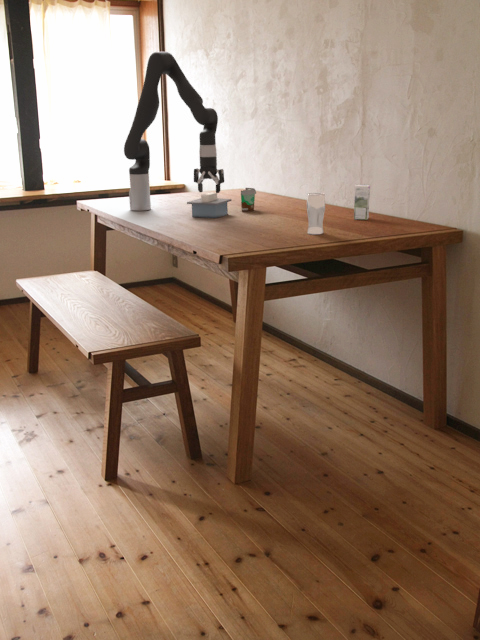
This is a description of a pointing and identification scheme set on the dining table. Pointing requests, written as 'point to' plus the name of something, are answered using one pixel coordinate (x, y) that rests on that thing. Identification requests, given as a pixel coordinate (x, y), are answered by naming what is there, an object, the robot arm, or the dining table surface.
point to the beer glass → (315, 212)
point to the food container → (248, 199)
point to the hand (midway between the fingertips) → (209, 192)
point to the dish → (209, 210)
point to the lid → (209, 200)
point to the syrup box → (361, 202)
